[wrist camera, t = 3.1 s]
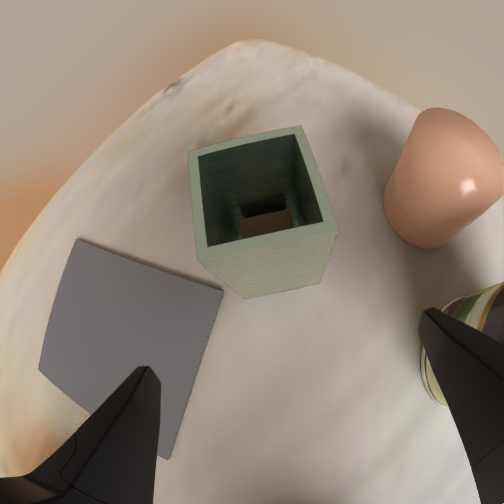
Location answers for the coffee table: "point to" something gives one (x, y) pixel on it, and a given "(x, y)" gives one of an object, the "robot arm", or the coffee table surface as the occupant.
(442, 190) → the pink rounded cylinder
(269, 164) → the tin
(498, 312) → the coffee can
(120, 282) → the mat
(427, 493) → the coffee table surface
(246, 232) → the walnut block
